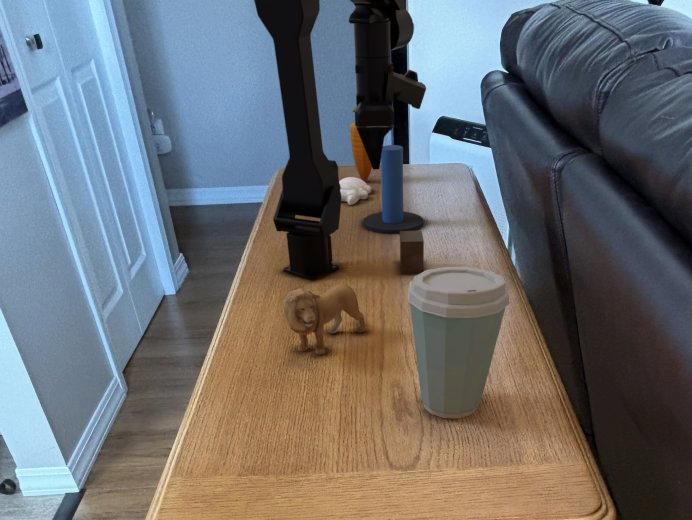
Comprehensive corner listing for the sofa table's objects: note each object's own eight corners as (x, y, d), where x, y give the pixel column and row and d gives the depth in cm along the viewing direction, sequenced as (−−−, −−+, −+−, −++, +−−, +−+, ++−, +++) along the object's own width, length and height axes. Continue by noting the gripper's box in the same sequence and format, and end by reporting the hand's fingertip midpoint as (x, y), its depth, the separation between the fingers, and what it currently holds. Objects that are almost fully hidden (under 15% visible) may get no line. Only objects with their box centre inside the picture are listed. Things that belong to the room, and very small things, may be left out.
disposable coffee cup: (397, 388, 87) (395, 261, 78) (483, 377, 89) (492, 252, 80) (419, 435, 79) (420, 300, 70) (514, 422, 81) (527, 289, 72)
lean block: (401, 274, 115) (400, 241, 112) (400, 262, 119) (399, 231, 116) (423, 273, 115) (423, 241, 112) (421, 262, 119) (421, 230, 116)
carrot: (375, 185, 154) (373, 103, 144) (352, 185, 154) (348, 103, 144) (376, 178, 158) (374, 98, 148) (353, 179, 158) (349, 98, 148)
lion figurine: (313, 370, 91) (306, 299, 85) (278, 360, 93) (269, 291, 87) (374, 325, 101) (372, 259, 95) (342, 317, 103) (337, 252, 97)
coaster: (398, 237, 128) (398, 234, 128) (350, 225, 134) (350, 222, 133) (435, 221, 135) (435, 218, 135) (388, 210, 140) (388, 207, 140)
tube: (347, 189, 129) (391, 138, 124) (348, 183, 131) (391, 133, 127) (393, 234, 134) (437, 187, 129) (392, 227, 137) (435, 181, 132)
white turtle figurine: (317, 203, 145) (315, 186, 143) (339, 186, 153) (338, 170, 151) (358, 206, 142) (358, 189, 140) (379, 189, 151) (378, 173, 149)
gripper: (426, 63, 111) (425, 175, 121) (420, 47, 125) (419, 148, 135) (352, 65, 110) (357, 177, 120) (354, 48, 125) (358, 149, 135)
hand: (376, 162), depth 128 cm, fingers open, 9 cm apart
